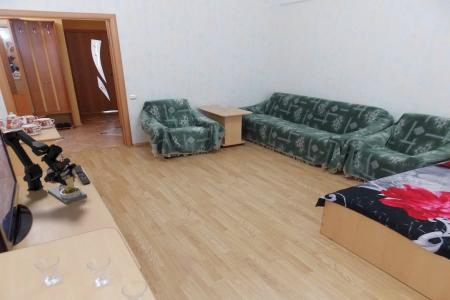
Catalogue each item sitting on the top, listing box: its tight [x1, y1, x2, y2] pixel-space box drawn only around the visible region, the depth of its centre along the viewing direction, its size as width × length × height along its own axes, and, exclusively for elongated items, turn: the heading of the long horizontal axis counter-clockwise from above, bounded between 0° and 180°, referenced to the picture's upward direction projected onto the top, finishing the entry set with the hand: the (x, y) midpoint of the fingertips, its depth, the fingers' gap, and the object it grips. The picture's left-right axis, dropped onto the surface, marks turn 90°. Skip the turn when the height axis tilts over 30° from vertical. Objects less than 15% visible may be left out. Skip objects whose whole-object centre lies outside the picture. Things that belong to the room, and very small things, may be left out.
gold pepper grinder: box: [62, 175, 77, 194], centre depth 164 cm, size 7×7×12 cm
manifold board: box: [47, 183, 88, 205], centre depth 168 cm, size 23×12×5 cm, turn 53°
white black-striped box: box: [45, 162, 75, 180], centre depth 191 cm, size 17×5×10 cm, turn 129°
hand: (70, 183), depth 163 cm, fingers closed on gold pepper grinder, 5 cm apart
